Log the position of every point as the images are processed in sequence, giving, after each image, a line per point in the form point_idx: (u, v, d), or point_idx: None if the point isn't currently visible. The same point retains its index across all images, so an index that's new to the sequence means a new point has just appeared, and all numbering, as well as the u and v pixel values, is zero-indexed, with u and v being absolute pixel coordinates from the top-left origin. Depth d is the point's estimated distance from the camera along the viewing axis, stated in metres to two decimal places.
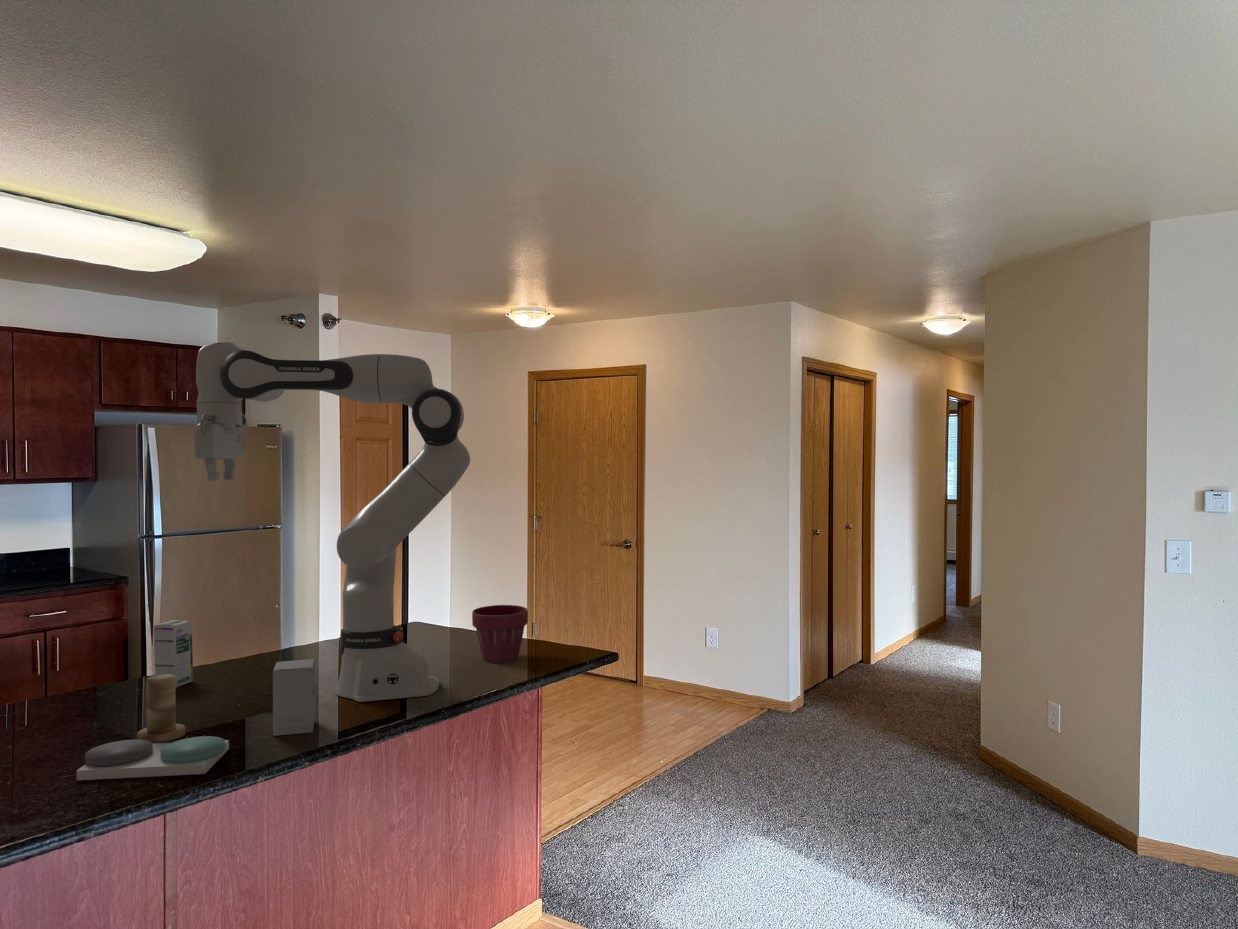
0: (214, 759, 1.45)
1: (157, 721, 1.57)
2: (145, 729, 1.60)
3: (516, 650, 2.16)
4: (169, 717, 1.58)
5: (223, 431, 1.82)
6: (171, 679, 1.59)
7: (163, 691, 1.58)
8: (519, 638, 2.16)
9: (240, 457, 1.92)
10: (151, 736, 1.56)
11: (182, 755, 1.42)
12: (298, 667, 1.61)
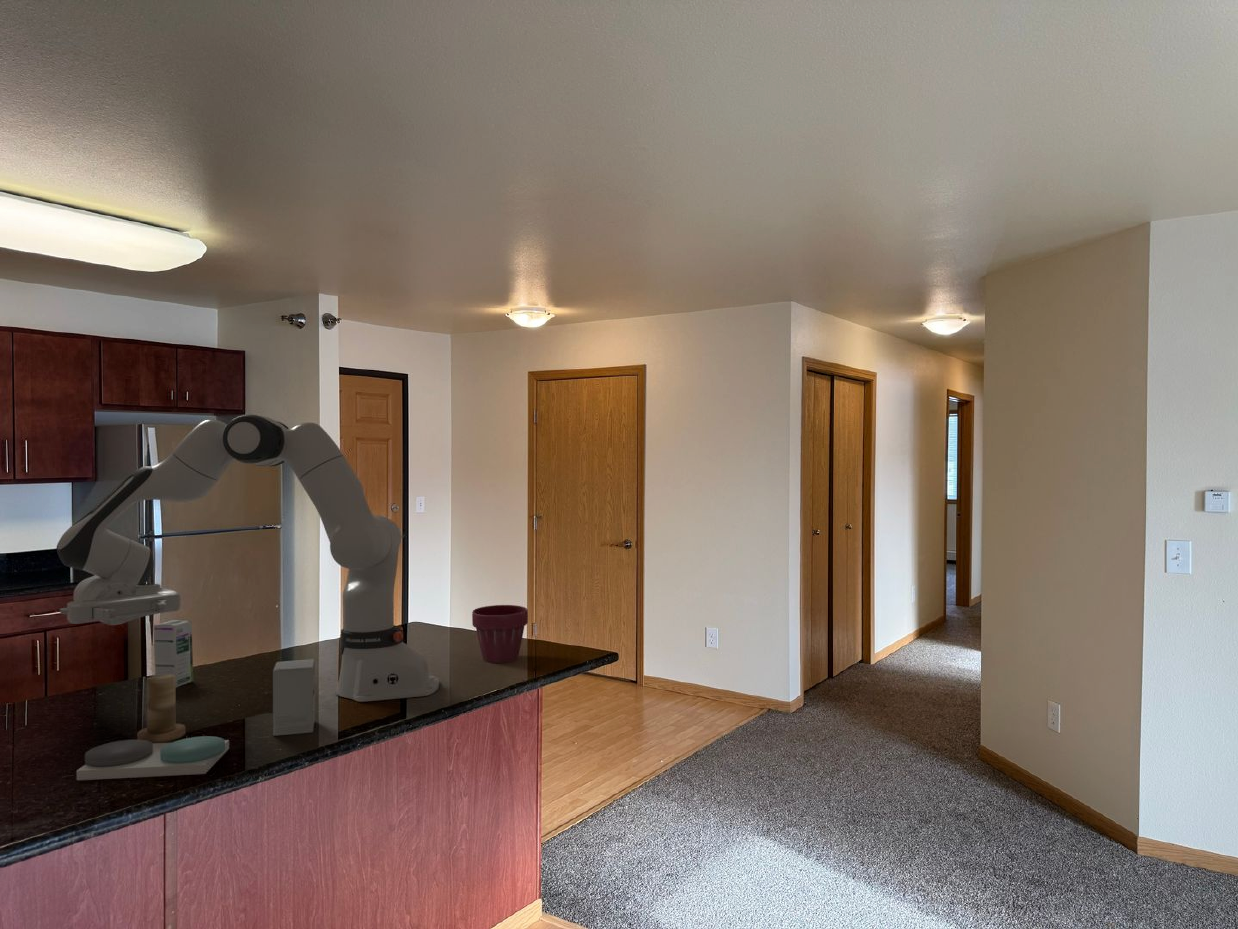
0: (214, 759, 1.45)
1: (157, 721, 1.57)
2: (145, 729, 1.60)
3: (516, 650, 2.16)
4: (169, 717, 1.58)
5: (102, 598, 1.72)
6: (171, 679, 1.59)
7: (163, 691, 1.58)
8: (519, 638, 2.16)
9: (169, 595, 1.76)
10: (151, 736, 1.56)
11: (182, 755, 1.42)
12: (298, 667, 1.61)
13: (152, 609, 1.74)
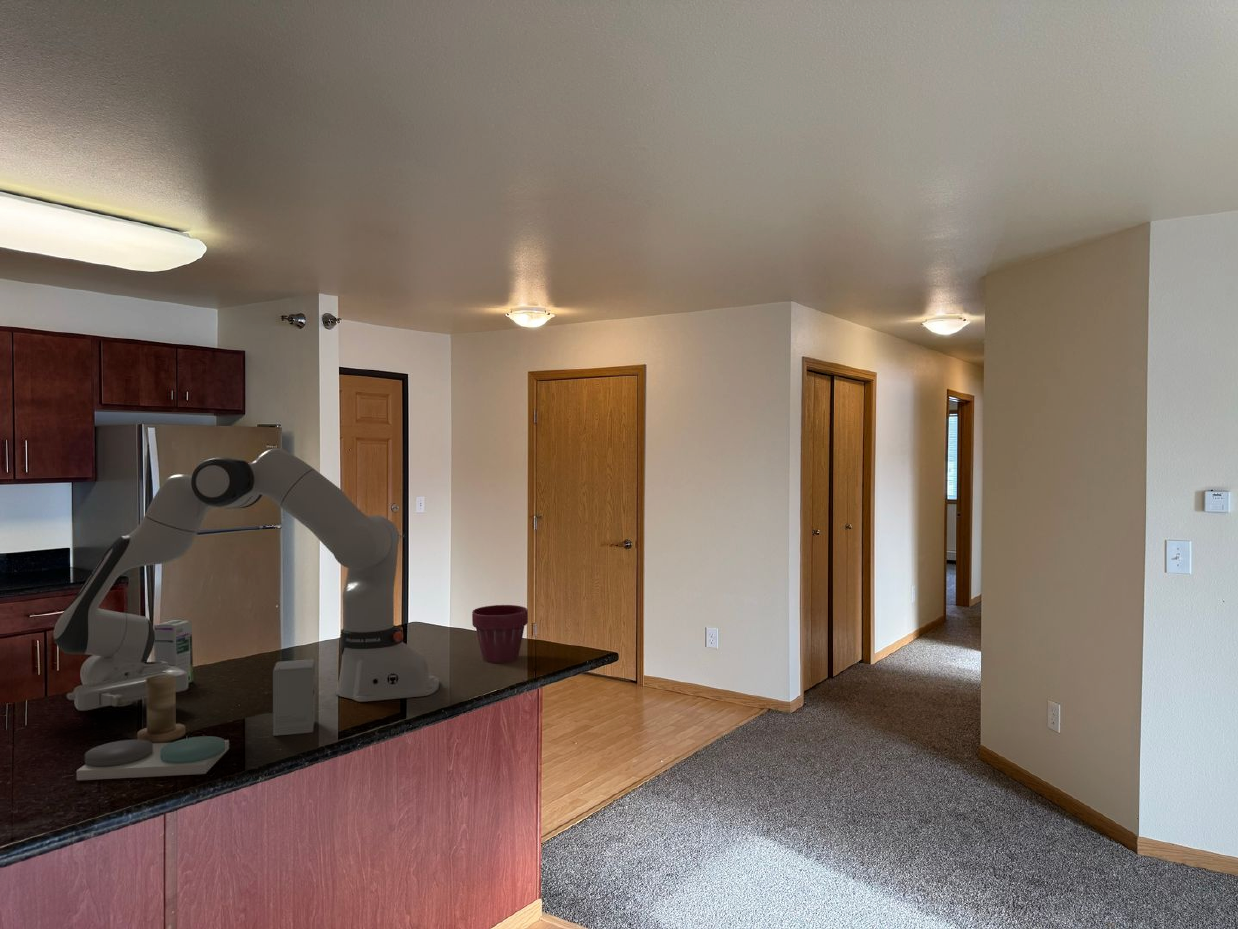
0: (214, 759, 1.45)
1: (157, 721, 1.57)
2: (145, 729, 1.60)
3: (516, 650, 2.16)
4: (169, 717, 1.58)
5: (110, 680, 1.70)
6: (171, 679, 1.59)
7: (163, 691, 1.58)
8: (519, 638, 2.16)
9: (176, 675, 1.75)
10: (150, 736, 1.56)
11: (182, 755, 1.42)
12: (298, 667, 1.61)
13: None
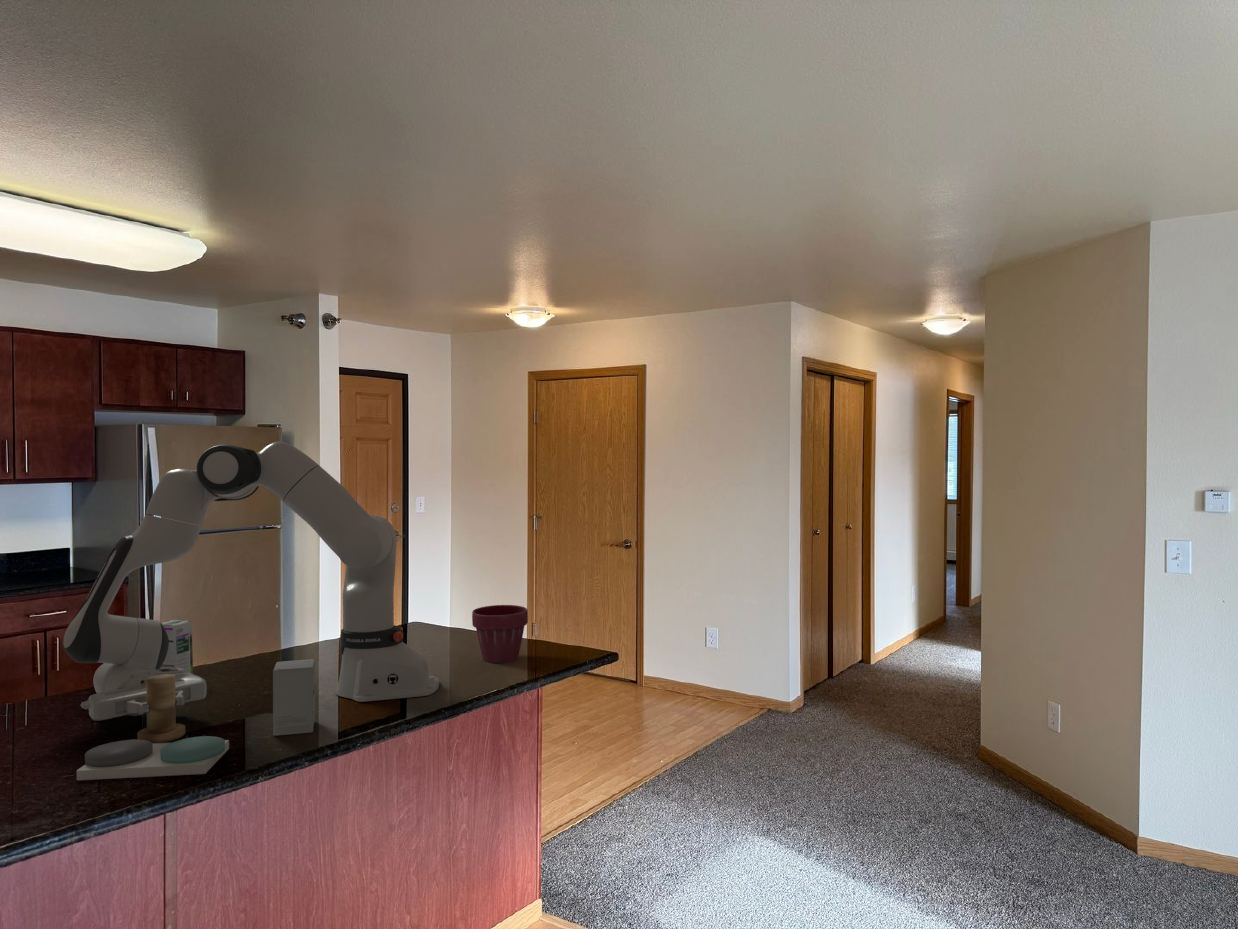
0: (214, 759, 1.45)
1: (157, 720, 1.57)
2: (145, 729, 1.60)
3: (516, 650, 2.16)
4: (169, 717, 1.58)
5: (125, 689, 1.64)
6: (171, 679, 1.59)
7: (163, 691, 1.58)
8: (519, 638, 2.16)
9: (194, 683, 1.68)
10: (150, 736, 1.56)
11: (182, 755, 1.42)
12: (298, 667, 1.61)
13: None
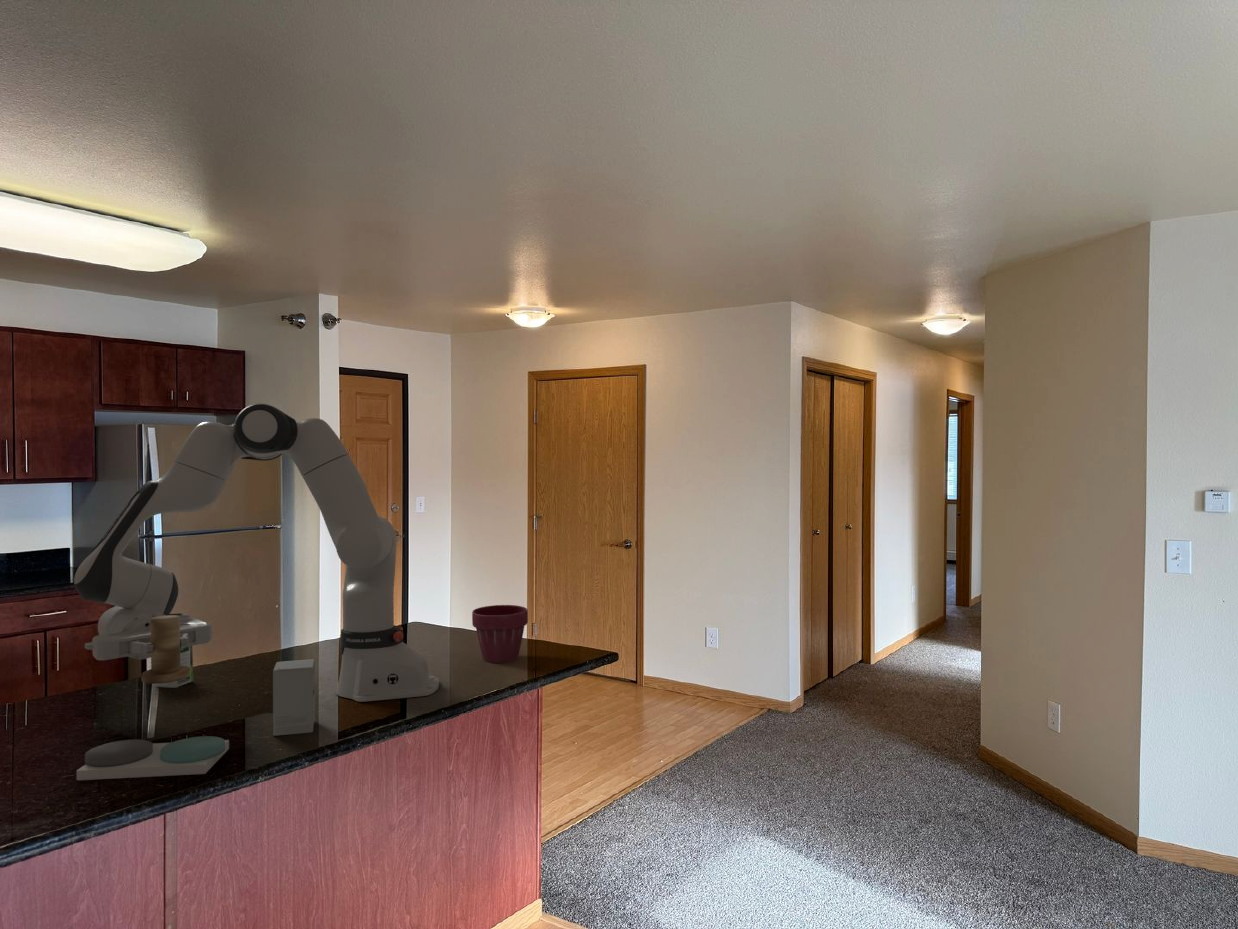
0: (214, 759, 1.45)
1: (162, 661, 1.55)
2: (149, 670, 1.58)
3: (516, 650, 2.16)
4: (174, 658, 1.56)
5: (129, 631, 1.61)
6: (175, 619, 1.56)
7: (167, 631, 1.55)
8: (519, 638, 2.16)
9: (199, 626, 1.65)
10: (155, 676, 1.54)
11: (182, 755, 1.42)
12: (298, 667, 1.61)
13: None
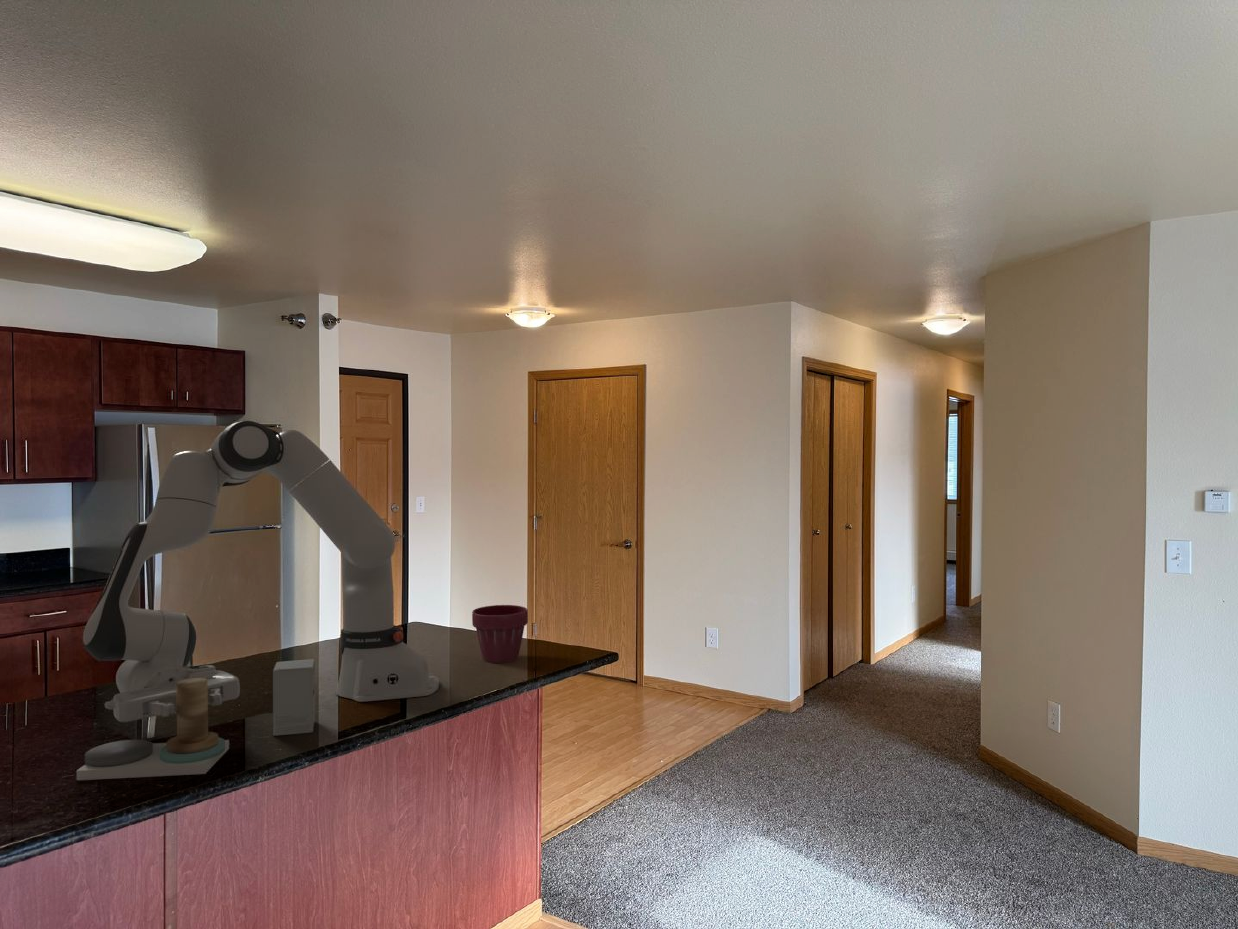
0: (214, 759, 1.45)
1: (189, 729, 1.44)
2: (175, 738, 1.46)
3: (516, 650, 2.16)
4: (201, 725, 1.45)
5: (153, 687, 1.50)
6: (203, 683, 1.45)
7: (195, 696, 1.44)
8: (519, 638, 2.16)
9: (227, 681, 1.54)
10: (181, 746, 1.42)
11: (182, 755, 1.42)
12: (298, 667, 1.61)
13: None
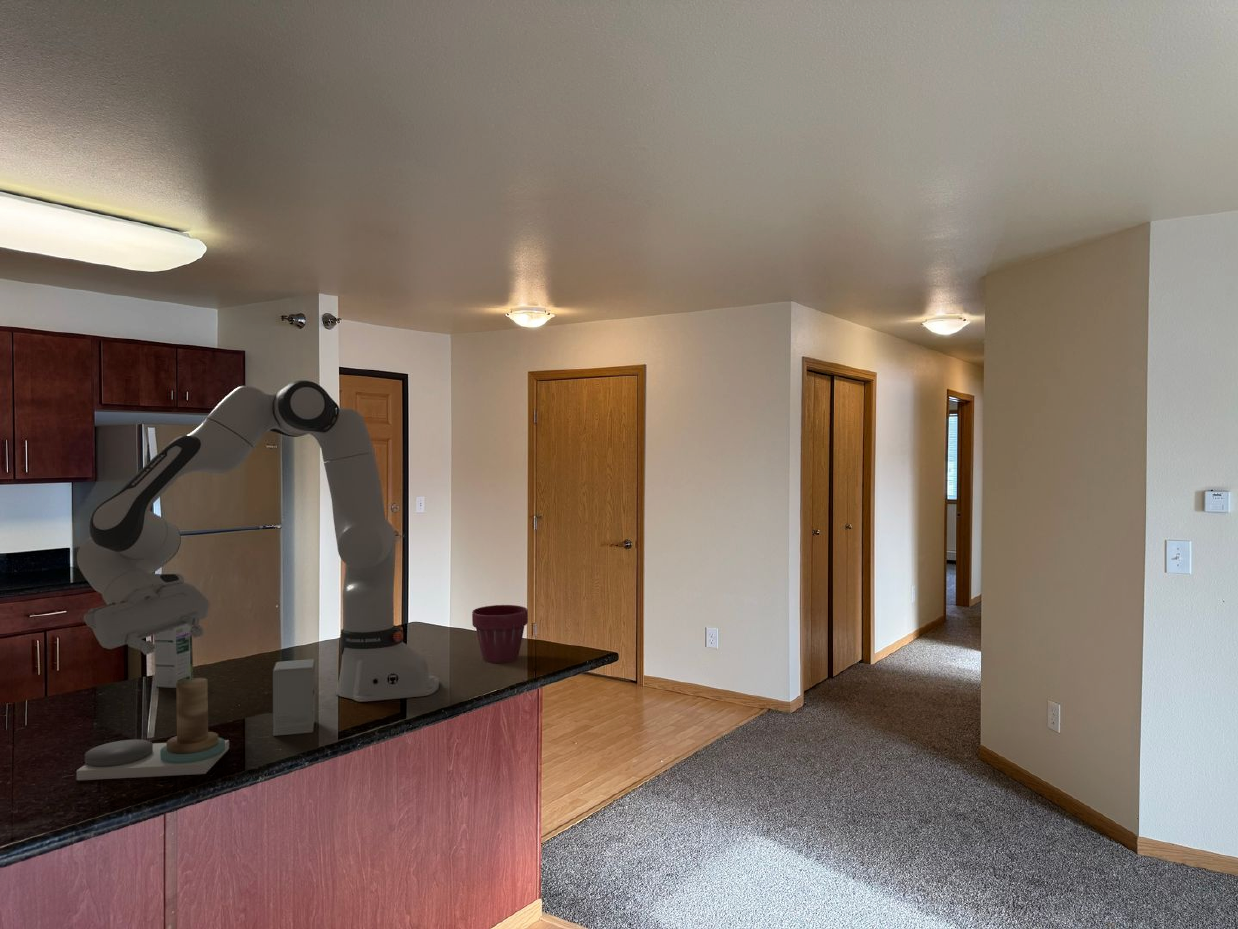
0: (214, 759, 1.45)
1: (189, 729, 1.44)
2: (175, 738, 1.46)
3: (516, 650, 2.16)
4: (201, 725, 1.45)
5: (130, 605, 1.58)
6: (203, 683, 1.45)
7: (195, 696, 1.44)
8: (519, 638, 2.16)
9: (200, 607, 1.65)
10: (181, 746, 1.42)
11: (182, 755, 1.42)
12: (298, 667, 1.61)
13: (181, 621, 1.63)
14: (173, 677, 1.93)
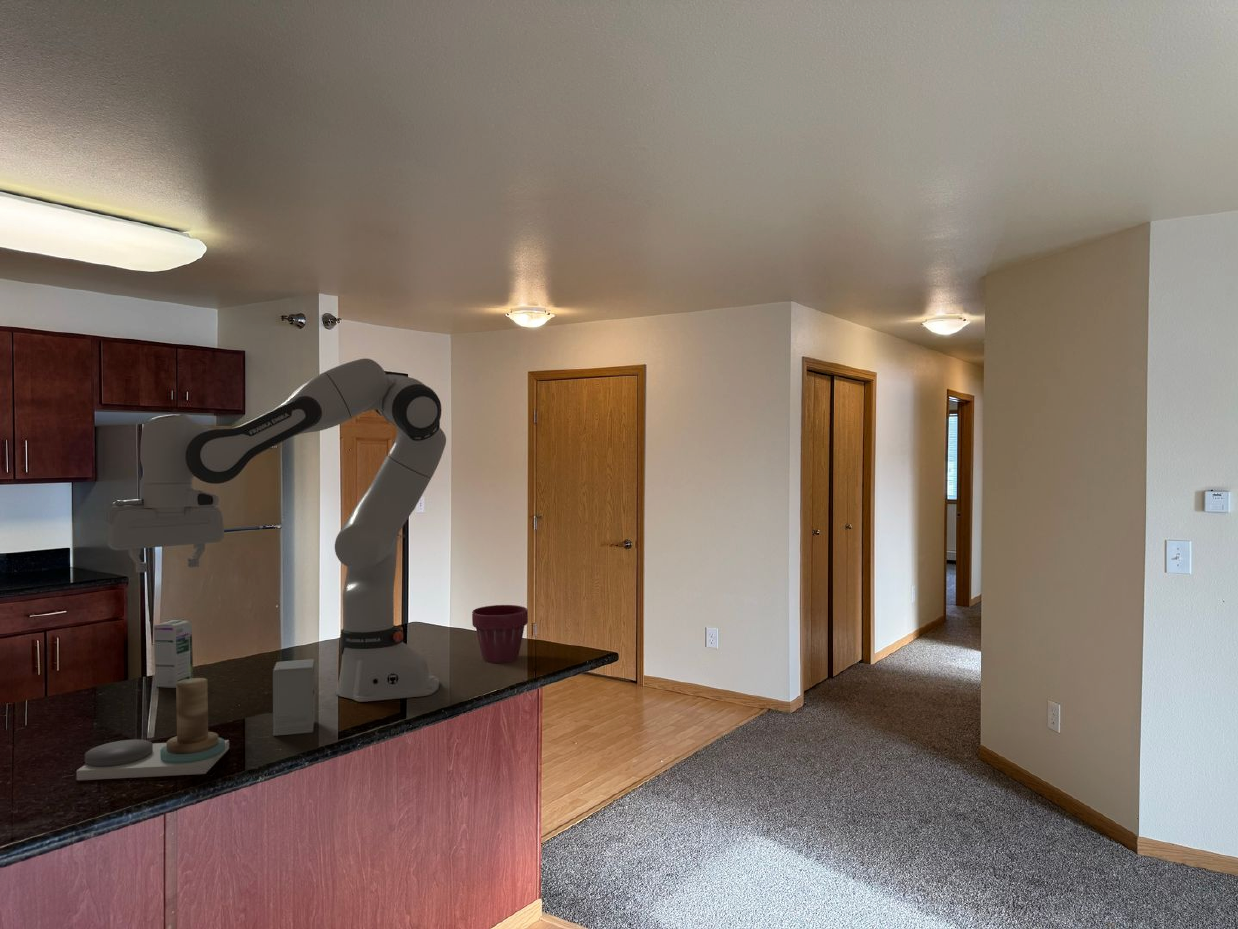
0: (214, 759, 1.45)
1: (189, 729, 1.44)
2: (175, 738, 1.46)
3: (516, 650, 2.16)
4: (201, 725, 1.45)
5: (153, 516, 1.59)
6: (203, 683, 1.45)
7: (195, 696, 1.44)
8: (519, 638, 2.16)
9: (212, 541, 1.67)
10: (181, 746, 1.42)
11: (182, 755, 1.42)
12: (298, 667, 1.61)
13: None
14: (173, 677, 1.93)
